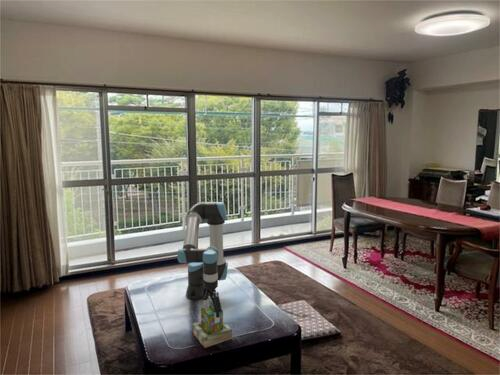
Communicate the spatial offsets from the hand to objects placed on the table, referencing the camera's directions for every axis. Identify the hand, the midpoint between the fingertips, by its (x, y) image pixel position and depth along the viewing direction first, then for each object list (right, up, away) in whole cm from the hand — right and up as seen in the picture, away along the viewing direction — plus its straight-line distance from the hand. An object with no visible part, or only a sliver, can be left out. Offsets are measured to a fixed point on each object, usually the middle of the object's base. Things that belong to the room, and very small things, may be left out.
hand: (211, 316), depth 195 cm
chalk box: (0, -7, +1) cm, 8 cm away
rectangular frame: (0, -11, +2) cm, 11 cm away
